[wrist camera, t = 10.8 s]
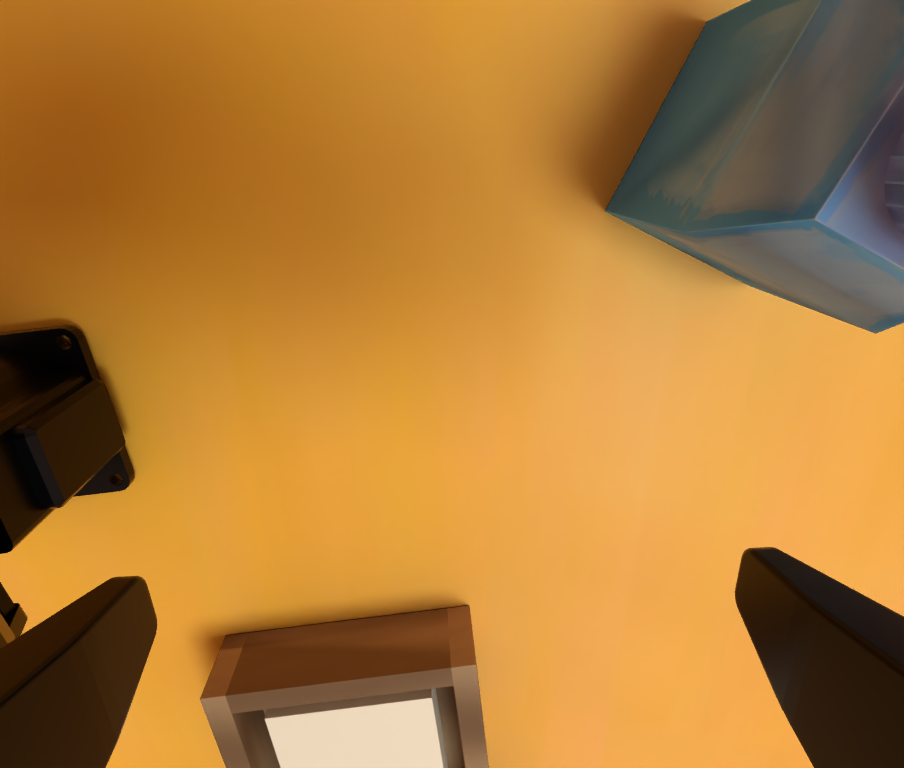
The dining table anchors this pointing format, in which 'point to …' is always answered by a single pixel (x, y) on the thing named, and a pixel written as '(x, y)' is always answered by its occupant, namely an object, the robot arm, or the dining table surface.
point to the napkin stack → (361, 732)
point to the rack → (346, 678)
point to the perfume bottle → (786, 156)
